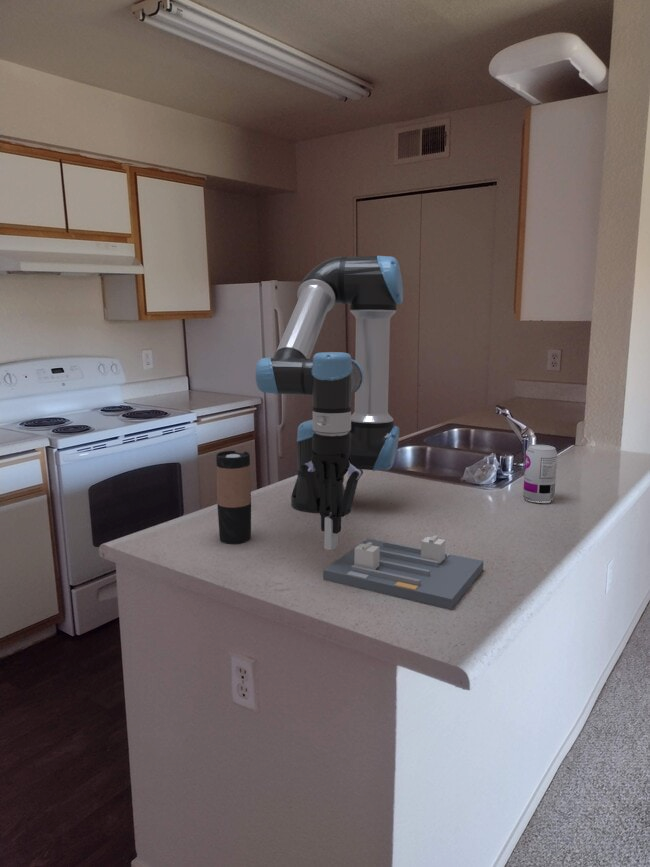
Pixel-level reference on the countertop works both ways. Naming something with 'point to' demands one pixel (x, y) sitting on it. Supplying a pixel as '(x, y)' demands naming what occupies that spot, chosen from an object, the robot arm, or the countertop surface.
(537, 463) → the supplement can
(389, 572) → the switch board
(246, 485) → the travel mug
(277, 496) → the countertop surface
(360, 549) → the tab
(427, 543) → the tab
